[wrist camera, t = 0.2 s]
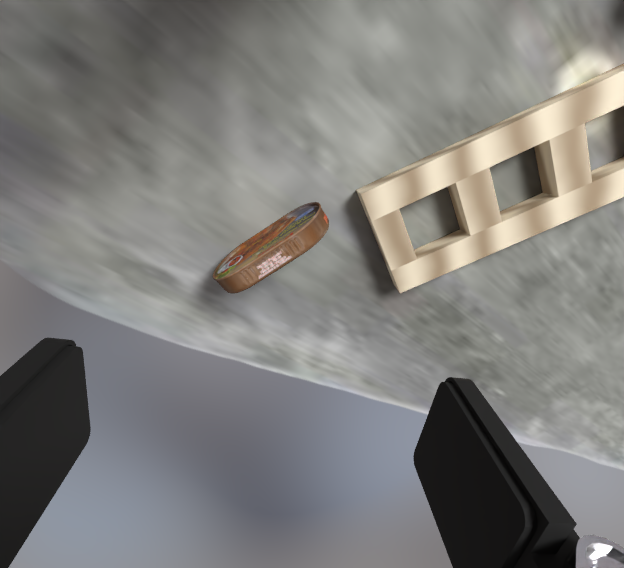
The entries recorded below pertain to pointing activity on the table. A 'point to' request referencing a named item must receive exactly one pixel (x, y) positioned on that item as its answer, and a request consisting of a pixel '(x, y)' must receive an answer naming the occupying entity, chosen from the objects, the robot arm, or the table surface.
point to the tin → (272, 248)
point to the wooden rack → (480, 191)
